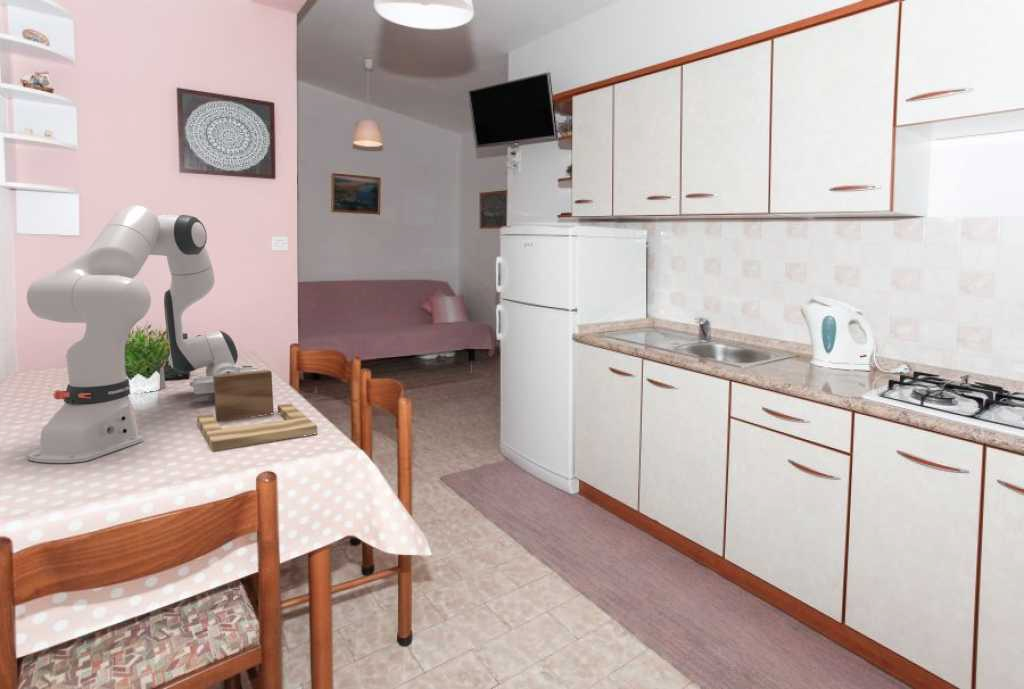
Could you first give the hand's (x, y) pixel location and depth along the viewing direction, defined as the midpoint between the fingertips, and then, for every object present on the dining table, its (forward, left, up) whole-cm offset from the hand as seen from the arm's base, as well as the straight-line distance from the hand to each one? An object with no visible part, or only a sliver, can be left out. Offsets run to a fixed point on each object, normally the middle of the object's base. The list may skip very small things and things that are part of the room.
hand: (235, 388), depth 173 cm
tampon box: (+33, +42, -6) cm, 54 cm away
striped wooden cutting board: (-19, -16, -6) cm, 26 cm away
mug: (+15, +40, -6) cm, 43 cm away
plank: (-9, -8, -6) cm, 13 cm away
